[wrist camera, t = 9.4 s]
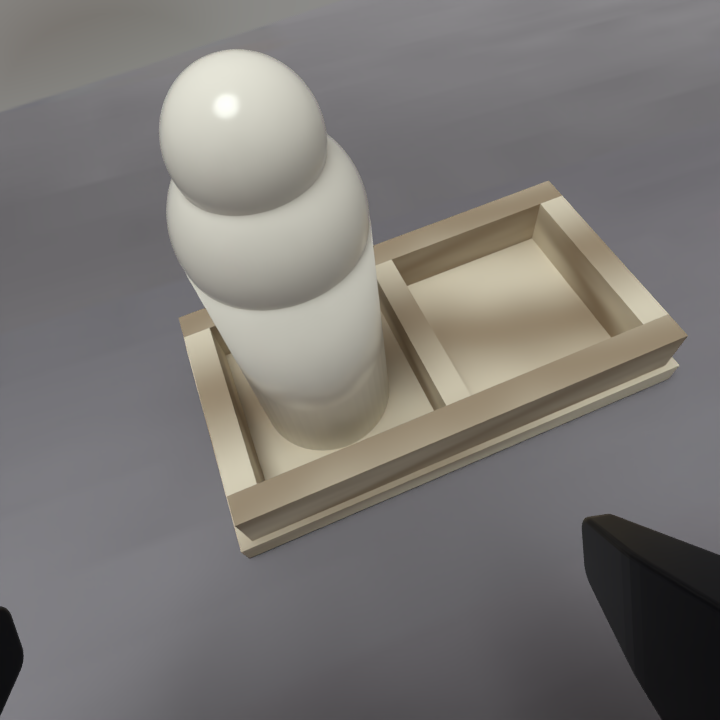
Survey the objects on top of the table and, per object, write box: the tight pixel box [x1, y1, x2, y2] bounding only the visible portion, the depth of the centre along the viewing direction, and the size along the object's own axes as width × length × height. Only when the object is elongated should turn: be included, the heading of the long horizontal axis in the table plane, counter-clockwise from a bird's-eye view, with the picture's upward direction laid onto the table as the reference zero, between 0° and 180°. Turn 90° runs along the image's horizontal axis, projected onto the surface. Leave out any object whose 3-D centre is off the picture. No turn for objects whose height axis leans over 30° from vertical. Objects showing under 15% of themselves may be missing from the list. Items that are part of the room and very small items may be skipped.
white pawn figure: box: [159, 49, 389, 451], centre depth 15 cm, size 5×5×13 cm
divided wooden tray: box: [179, 181, 688, 558], centre depth 21 cm, size 9×17×3 cm, turn 112°
